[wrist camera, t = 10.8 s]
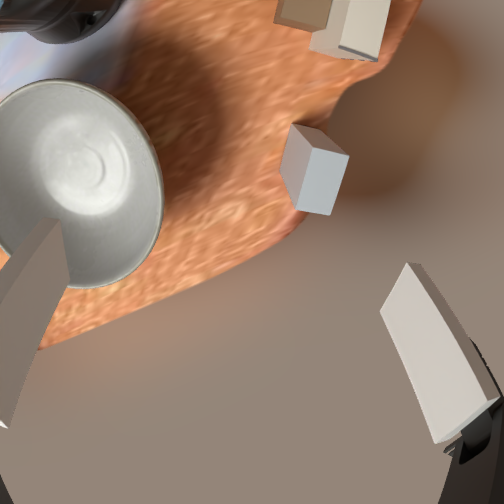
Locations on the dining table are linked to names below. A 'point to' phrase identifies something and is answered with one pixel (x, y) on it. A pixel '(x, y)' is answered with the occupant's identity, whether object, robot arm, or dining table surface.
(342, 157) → the stub
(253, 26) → the dining table surface
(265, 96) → the dining table surface
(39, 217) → the decorative bowl
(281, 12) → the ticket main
